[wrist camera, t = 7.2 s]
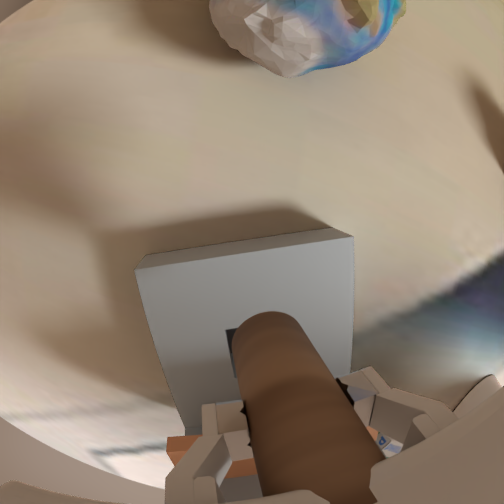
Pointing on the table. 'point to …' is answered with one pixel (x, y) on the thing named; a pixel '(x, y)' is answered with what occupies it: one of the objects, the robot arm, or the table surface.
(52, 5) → the table surface
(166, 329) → the station
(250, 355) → the peg
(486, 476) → the robot arm
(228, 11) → the relief earth globe
